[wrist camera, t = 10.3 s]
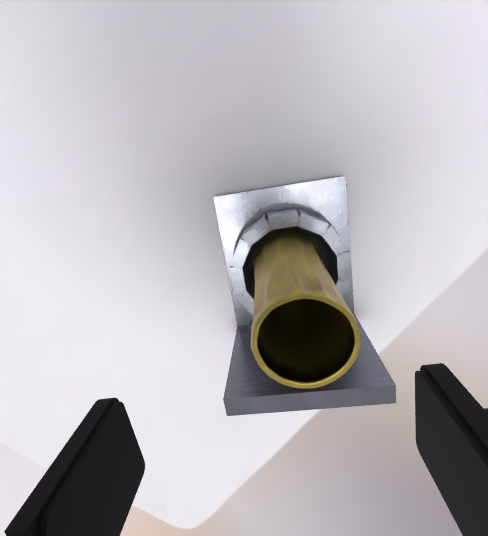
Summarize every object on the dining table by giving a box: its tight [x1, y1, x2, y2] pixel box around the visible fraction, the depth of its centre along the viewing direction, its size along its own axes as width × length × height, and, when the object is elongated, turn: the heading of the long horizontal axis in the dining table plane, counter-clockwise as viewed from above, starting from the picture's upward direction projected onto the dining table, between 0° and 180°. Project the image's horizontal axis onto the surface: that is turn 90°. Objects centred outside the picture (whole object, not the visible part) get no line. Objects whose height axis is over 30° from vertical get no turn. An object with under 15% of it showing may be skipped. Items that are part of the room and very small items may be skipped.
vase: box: [251, 227, 360, 389], centre depth 22 cm, size 6×6×14 cm
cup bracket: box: [214, 176, 396, 416], centre depth 26 cm, size 15×12×12 cm
